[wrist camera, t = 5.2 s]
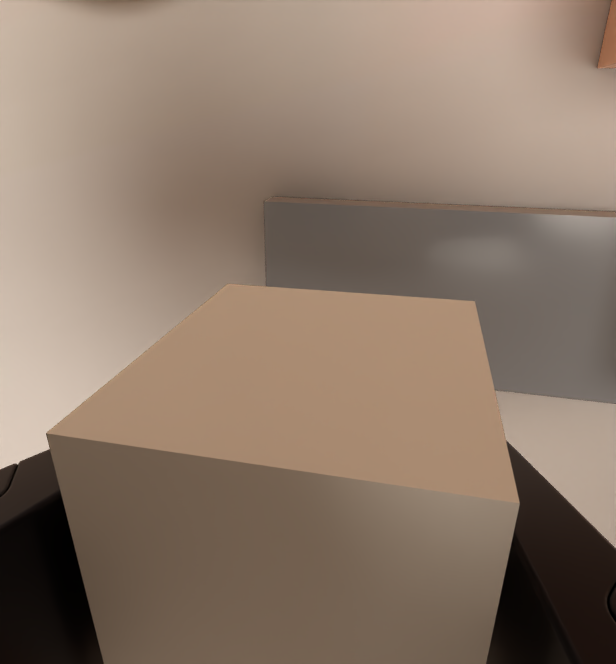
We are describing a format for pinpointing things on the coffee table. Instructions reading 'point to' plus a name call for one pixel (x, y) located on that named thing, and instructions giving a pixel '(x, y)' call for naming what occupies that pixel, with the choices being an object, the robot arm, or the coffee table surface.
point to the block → (295, 485)
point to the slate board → (471, 277)
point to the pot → (609, 41)
